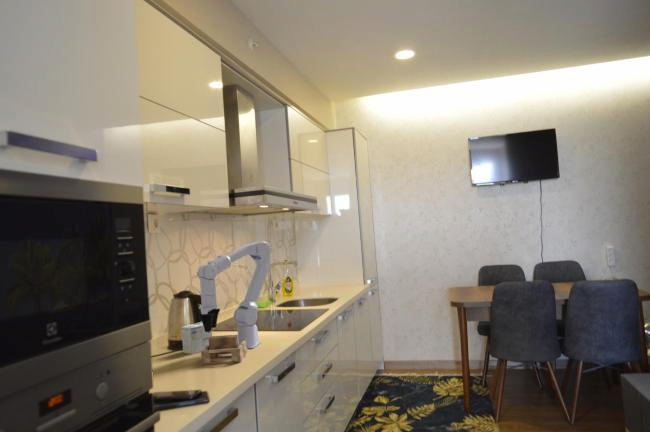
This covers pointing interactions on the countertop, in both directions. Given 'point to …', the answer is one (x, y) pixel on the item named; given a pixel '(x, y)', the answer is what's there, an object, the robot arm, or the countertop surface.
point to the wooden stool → (224, 355)
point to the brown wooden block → (223, 343)
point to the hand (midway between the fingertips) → (210, 329)
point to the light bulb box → (195, 338)
